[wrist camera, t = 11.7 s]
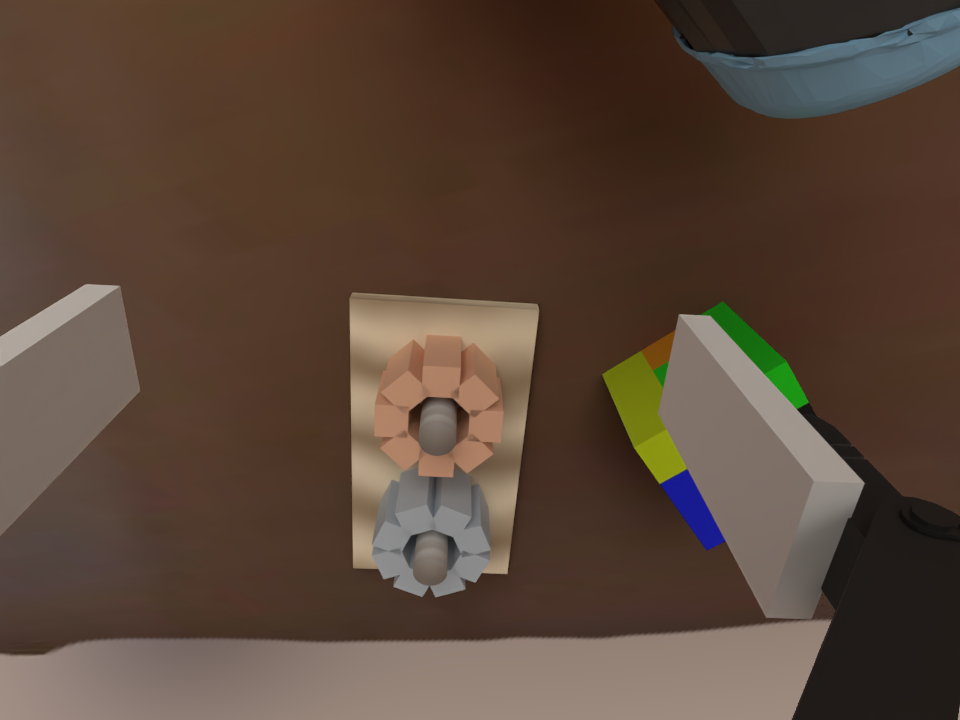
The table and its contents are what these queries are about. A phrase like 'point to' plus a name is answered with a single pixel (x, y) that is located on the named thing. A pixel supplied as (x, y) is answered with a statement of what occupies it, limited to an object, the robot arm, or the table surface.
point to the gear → (432, 508)
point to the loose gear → (445, 377)
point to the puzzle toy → (638, 407)
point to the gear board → (366, 373)
